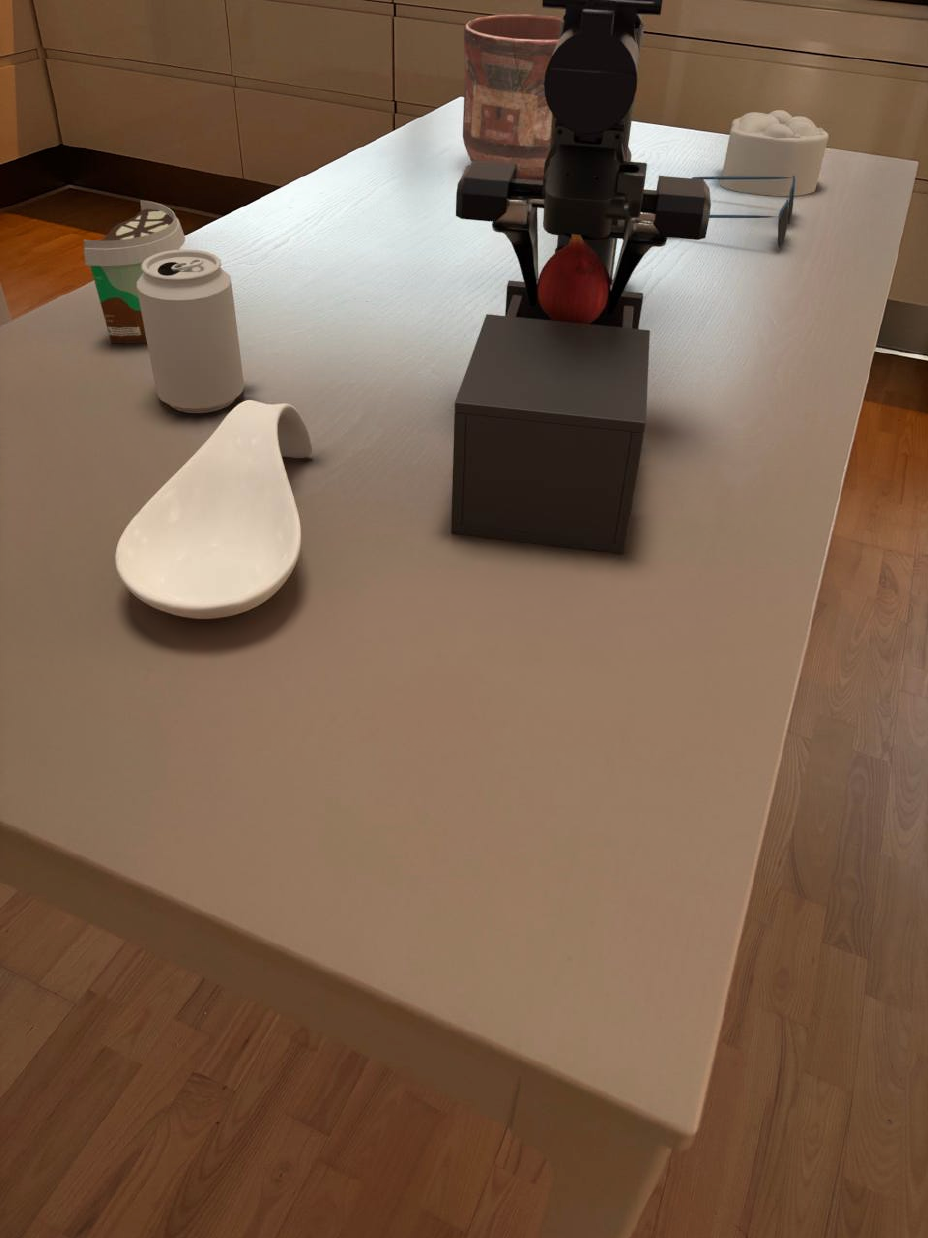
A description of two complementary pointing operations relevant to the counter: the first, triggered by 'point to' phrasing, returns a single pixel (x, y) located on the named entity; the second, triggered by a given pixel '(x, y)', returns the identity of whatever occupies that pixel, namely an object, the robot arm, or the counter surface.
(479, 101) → the pottery
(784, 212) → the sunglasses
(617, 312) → the drawer
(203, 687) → the counter surface
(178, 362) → the can
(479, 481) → the dark grey storage box
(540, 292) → the onion
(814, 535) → the counter surface
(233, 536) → the spoon rest
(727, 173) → the lumpy-topped squat cylinder
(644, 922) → the counter surface
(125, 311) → the food container
